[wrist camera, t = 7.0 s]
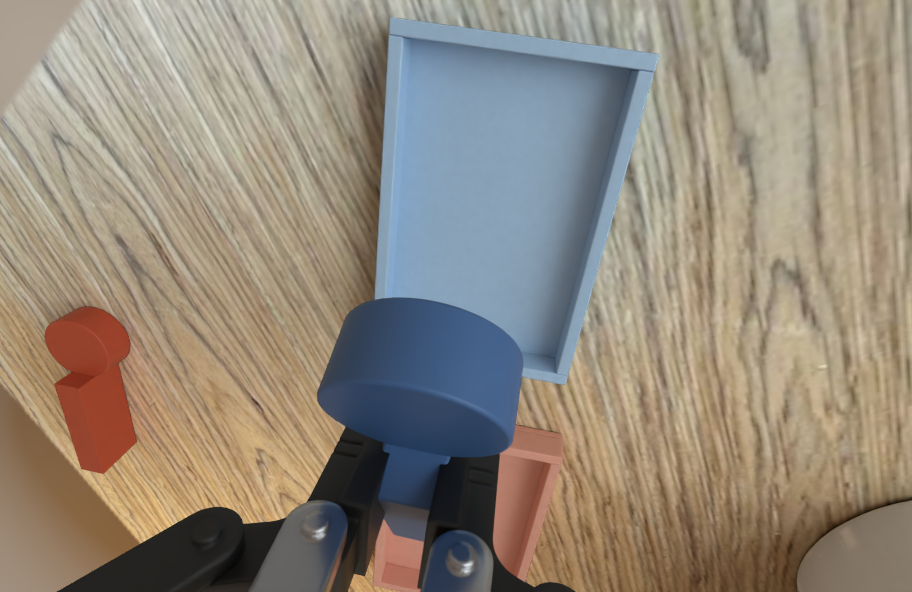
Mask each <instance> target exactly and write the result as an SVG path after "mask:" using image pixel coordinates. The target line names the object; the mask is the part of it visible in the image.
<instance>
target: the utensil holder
mask: <svg viewBox="0 0 912 592" xmlns="http://www.w3.org/2000/svg"><path fill="white" fill-rule="evenodd" d="M797 589H798V592H912V501H906V502H901V503H896V504H893V505H889V506H885V507H882V508H878V509H875V510H872V511H870V512H867V513H864V514H862V515H860V516H858V517H856V518H854V519H851V520H849V521H847V522H845V523H843V524H842V525H840V526H838V527H836V528H835V529H833V530H831V531H830V532H829V533H827V534H826V535H825V536H823V537H822V538H821V539H820V540H819V541H818V542H817V543H816V544H815V545H814V546H813V547H812V548H811V549H810V550H809V551H808V553H807V554H806V555H805V557H804V558H803V560H802V562H801V564H800V566H799V570H798V573H797Z"/></svg>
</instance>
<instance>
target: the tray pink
mask: <svg viewBox="0 0 912 592" xmlns="http://www.w3.org/2000/svg"><path fill="white" fill-rule="evenodd" d="M499 454H500V461H499V472H498V484H497V496H496V507H495V519H494V531H493V546H494V550H495V553H496V555H497V557H498V559H499V561H500V562H501V563H502V565H503V566H504V567H505V568H506V569H507V570H508V571H509V572H510V573H511V574H513V575H514V576H516V577H517V578H519V579H521V580H523V581H524V582H525V580H526V577H527V574H528V570H529V567H530V564H531V561H532V558H533V554H534V551H535V548H536V545H537V541H538V538H539V535H540V532H541V528H542V525H543V522H544V519H545V516H546V512H547V509H548V506H549V503H550V499H551V496H552V493H553V490H554V486H555V483H556V480H557V477H558V474H559V470H560V467H561V464H562V461H563V449H562V436H561V434H560V433H555V432H550V431H545V430H539V429H534V428H529V427H524V426H519V425H515V431H514V438H513V442H512V444H511V445H510V447H509V448H508V449H507V450H505V451H504V452H501V453H499ZM423 545H424V542H423V541H418V540H414V539H410V538H405V537H401V536H396V535H394V534H393V533H392V531H391V530H390V528H389V526H388V525H387V523H386V522H385V520H384V519H383V522H382V525H381V528H380V531H379V534H378V538H377V541H376V546H375V559H374V573H373V586H377V587H382V588H386V589H391V590H395V591H400V592H420V590H421V589H419V588H417V585H418V579H419V572H420V565H421V559H422V552H423Z"/></svg>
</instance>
